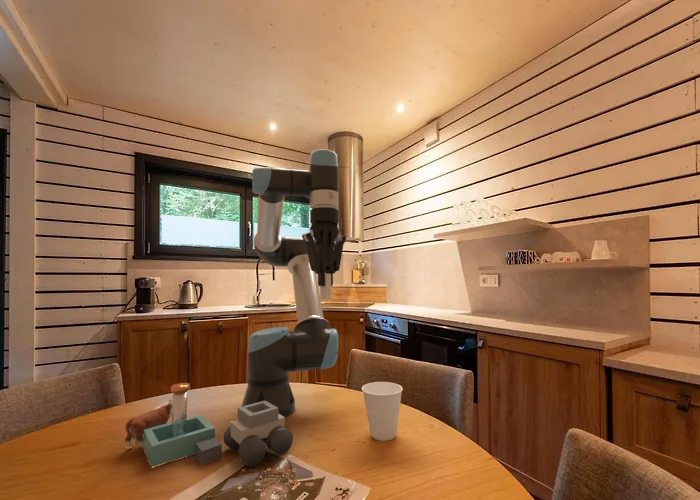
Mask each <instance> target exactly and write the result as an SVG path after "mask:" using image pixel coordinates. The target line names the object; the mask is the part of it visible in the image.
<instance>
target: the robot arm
mask: <svg viewBox="0 0 700 500" xmlns="http://www.w3.org/2000/svg"><path fill="white" fill-rule="evenodd" d="M338 160H339V159H338V155H337V153H336V152H335V151H333V150H330V149H324V148H323V149H317V150H313V151H312V152H311V153H310V155H309V162H308V164H309V170H303V169H288V168H278V167H277V168H275V167H269V166H265V167H264V166H263V167H259V166H257V167H254V168H253V169H252V174H251V175H252V178H251V179H252V183H251V184H252V185H251V186H252V189H251V191H252V193H253V194H254V195H258V202H257V203H258V206H257V209H258V210H257V226H256V227H257V228H256V234H255V235H254V238H253V247H254V250H255V252H256V254H257V256H258V257H259V258H260V259H261V260H262V261H263V262H265V263H266V264H268V265H270V266H273V267H277V268H278V267H285V268H286V267H287V270H288V272H289V273H290V274H292V282H293V291H294V292H293V293H294V300H295V311H296V319H297V323H296V324H295V325H294V327H293V330H292V331H290V329H289V327H287V326H274V327H269V328H264V329H261V330H257V331H255V332H253V333H251V334H249V335H250V336H249V337H248V344H247V347H248V348H247V350H246V351H247V354H248V355H247V387H246V390H245V393H244V396H243V399H242V403H241V405H240V407H243V406H246V405H250V404H254V403H258V402H261V401H267V402H269V403H270V404H272V405H274V406H276V407H277V408H278V414H280V415H282V416H283V417H285V418H286V417H289V416H290V415H292V414H293V413H294V411H296V399H295V397H294V394H293V391H292V387H291V385H290V380H289V379H290V375H289V373H292V372H293V373H294V372H304V371H305V372H306V371H315V370H317V371H318V370H319V371H321V370H323V369H329V368H332V367H333V366H335V364H336V362H337V359H338V354H339V353H338V352H339V331H338V330H337V329H336V328H333V327H332V328H331V324H330V322H329V321H328V320H327V319H326V318H325V317H324V313H323V307H322V301H321V300H332V287H333V284H334V274H336V273H337V272H339V271H340V267H341V260H342V256H343V249H344V245H345V243H346V241H347V236H344V235H342V234H341V233H340V230H339V227H338V225H339V222H340V213H339V210H338V208H339V206H340V205H339V162H338ZM285 196H289V197H305V198H306V199H308V200H309V207H310V209H311V210H310V211H309V215H310V219H309V220H310V221H309V222H310V224H311V225H310V228H309V231H308V232H306V233H303V234H302V235H301V236H280V231H281V225H282V217H283V210H284V202H285ZM319 287H320V289H319Z"/></svg>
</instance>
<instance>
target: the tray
mask: <svg viewBox="0 0 700 500" xmlns="http://www.w3.org/2000/svg"><path fill="white" fill-rule="evenodd" d="M171 432H172V421H170V422H167V424H163V425H159V426H156V427H152V428H148V429H144V430H143V447H142V449H143V448H144V451H145V453H146V455H147V458H148V460H149V462H150V464H151V467H152V466H156V465H159V464H162V463H165V462H169V461H172V460H175V459H179V458H182V457H185V456H188V457H190V456H189V455H191V456H193V455H192V454H194V455H195V450H196V443H198V442H201V441H205V440H208V439H211V438H214V437H215V438H216V433H215V432H216V428H215V426H213V424H212V423H210V422H209V421H208V419H206V418H205V417H204V416H203V415H202V414H198V415H195V416H194V415H193V416H190V417H187V425H186V434H183V435H180V436H176V437H173V438H171ZM144 451H143V452H144ZM145 453H144V454H145ZM147 458H146V459H147ZM185 458H186V457H185ZM182 459H183V458H182ZM148 460H147V461H148ZM179 460H180V459H179ZM149 462H148V463H149ZM150 464H149V465H150ZM151 467H150V468H151Z"/></svg>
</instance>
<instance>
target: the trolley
mask: <svg viewBox="0 0 700 500" xmlns="http://www.w3.org/2000/svg"><path fill="white" fill-rule="evenodd" d="M285 418H286V417H283V416H282V415H280V414H278V408H277V407H276V406H274V405H272V404H270V403H269V402H267V401H261V402H258V403H254V404H250V405H246V406H243V407H241V406H239V407H237V419H236V420H233V421H230V425H229V426H228V427H227V428H226V430H225V431H224V433H223V442H224V444H225V446H226V447H228V449H229V450H231V451H234V452H235V451H236V452H237V455H238V458H239V460H241V462H242V463H243V464H244V465H246V466H247V467H254V466H255V467H256V466H257V465H258V464H260V462H262V461H263V459H264V457H265V455H266V452H267V451H266V450H267V448H268V449H269V450H270V451H271V452H273V453H274V454H275V455H277V456H281V455H282V456H283V455H284V454H286V453H288V452H289V450H290V449H291V448H292V445H293V440H294V436H293V432H291V431H290V430H289V429H287V428H285V427H286V426H285V425H286V424H285V423H286V422H285V421H286V420H285ZM265 441H266V443H265Z"/></svg>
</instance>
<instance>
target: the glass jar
mask: <svg viewBox="0 0 700 500" xmlns="http://www.w3.org/2000/svg"><path fill="white" fill-rule="evenodd" d="M190 388H191V387H190V383H188V382H182V383H175V384H173V385H171V386H170V393H172V399H173V402H172V415H171V422H172V432H171V438H173V437H176V436H180V435H183V434H186V425H187V418H188V417H187V416H188V391H189V390H190Z"/></svg>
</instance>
